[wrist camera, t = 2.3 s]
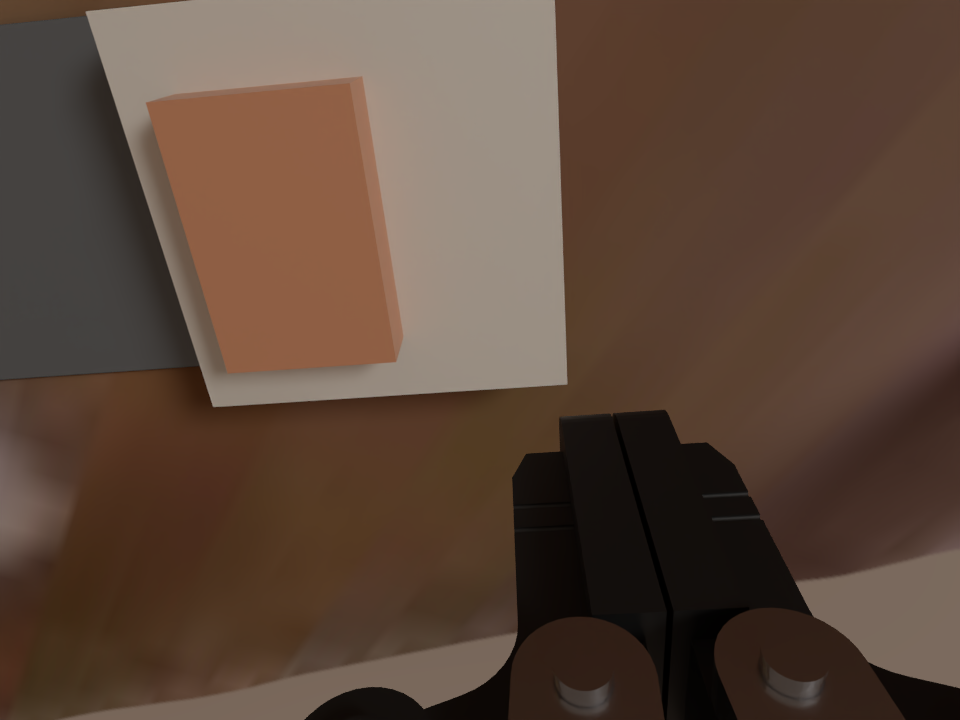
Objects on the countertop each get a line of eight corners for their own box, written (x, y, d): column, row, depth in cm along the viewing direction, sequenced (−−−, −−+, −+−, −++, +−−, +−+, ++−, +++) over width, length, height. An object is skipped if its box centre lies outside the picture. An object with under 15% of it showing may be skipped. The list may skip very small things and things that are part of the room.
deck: (545, -32, 23) (553, -38, 19) (558, 338, 29) (567, 384, 26) (146, 10, 24) (85, 11, 20) (246, 359, 30) (213, 407, 27)
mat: (133, 11, 24) (129, 11, 23) (235, 360, 30) (233, 363, 30) (-235, 49, 25) (-244, 50, 24) (-59, 380, 31) (-64, 384, 31)
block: (362, 76, 21) (349, 83, 19) (403, 336, 25) (396, 362, 23) (174, 94, 21) (145, 102, 19) (246, 347, 25) (227, 373, 24)
